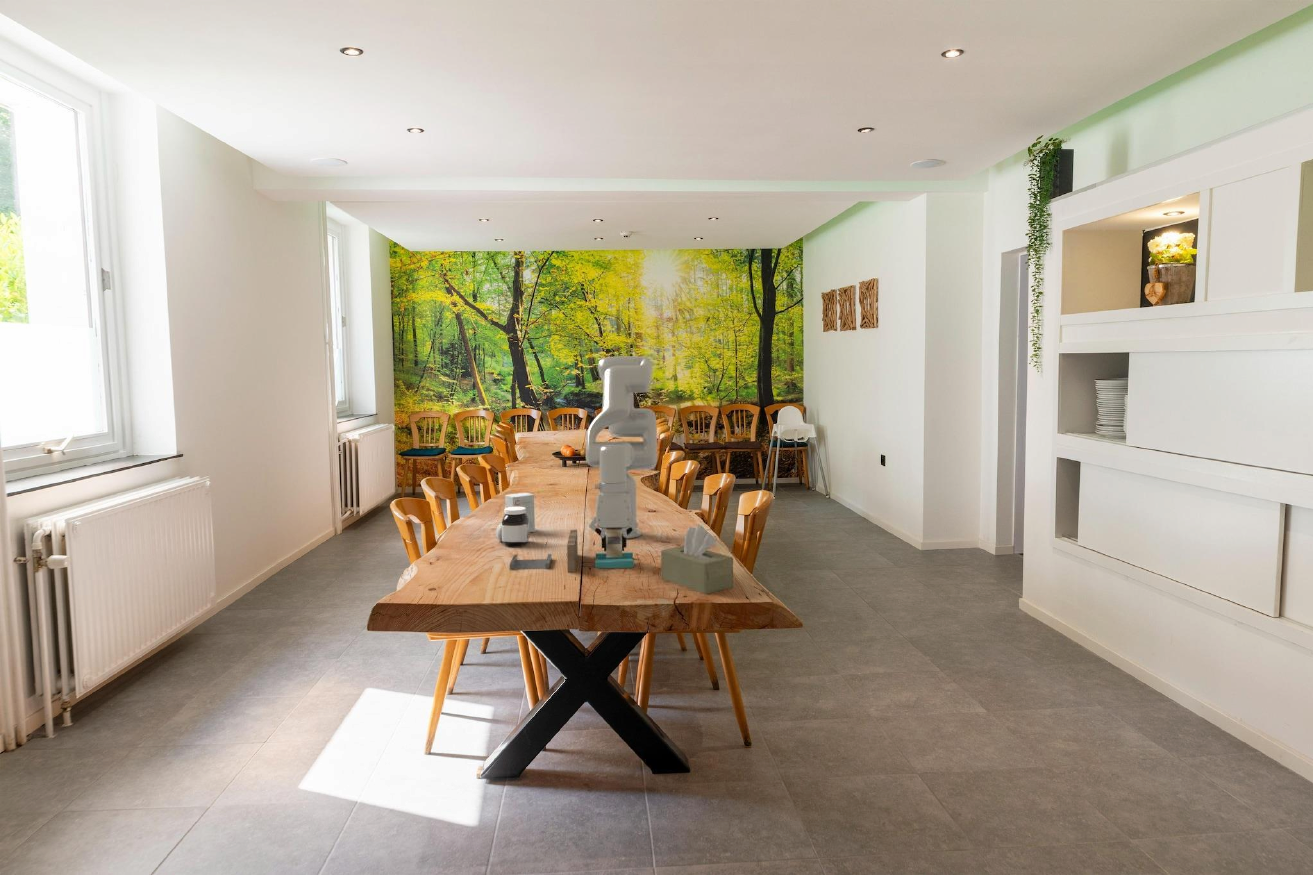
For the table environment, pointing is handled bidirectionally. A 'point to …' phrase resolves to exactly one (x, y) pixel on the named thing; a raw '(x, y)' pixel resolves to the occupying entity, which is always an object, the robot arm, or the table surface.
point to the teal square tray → (614, 561)
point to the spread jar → (514, 527)
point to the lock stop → (613, 542)
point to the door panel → (572, 551)
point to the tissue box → (697, 563)
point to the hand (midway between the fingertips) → (614, 549)
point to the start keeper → (530, 563)
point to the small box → (523, 505)
